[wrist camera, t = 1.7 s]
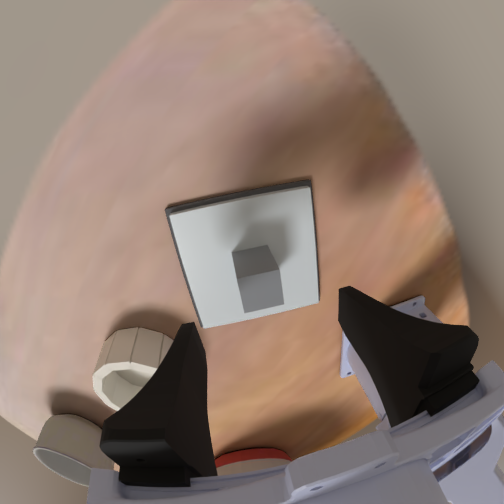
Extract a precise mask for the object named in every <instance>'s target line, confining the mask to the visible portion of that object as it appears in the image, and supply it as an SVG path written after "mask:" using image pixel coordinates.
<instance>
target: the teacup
mask: <svg viewBox="0 0 504 504" xmlns="http://www.w3.org/2000/svg"><path fill="white" fill-rule="evenodd" d="M101 434H102V430H101V429H100V428H99V427H98V426H97V425H95V424H94V423H92V422H91V421H89V420H87V419H85V418H82V417H80V416H76V415H71V414H64V415H55V416H52V417H50V418H49V419H48V420H47V421H46V423H45V424H44V426H43V428H42V431H41V433H40V435H39V438H38V441H37V443H36V446H35V447H34V449H33V453H34V455H35V456H36V458H37V459H38V460H39V461H40V462H41V463H42V464H44V465H45V466H46V467H47V468H49V469H50V470H52V471H53V472H55V473H57V474H58V475H60V476H62V477H64V478H66V479H68V480H70V481H73V482H75V483H78V484H81V485H84V486H87V487H89V480H90V473H91V468H100V469H109V470H113V469H114V461H113V460H111V459H110V458H109V457H108V456H106V455H105V454H104V453H103V452H102V451H101V449H100V447H99V445H100V439H101Z"/></svg>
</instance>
